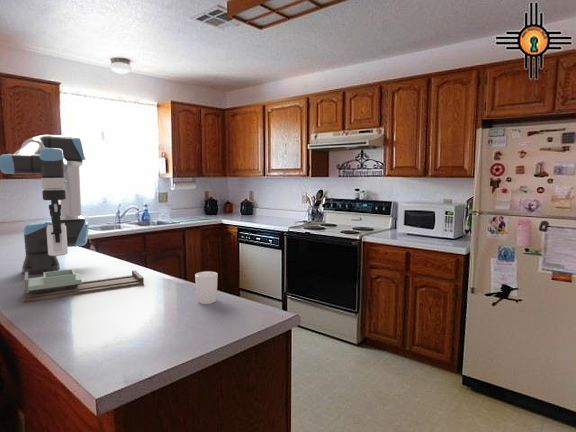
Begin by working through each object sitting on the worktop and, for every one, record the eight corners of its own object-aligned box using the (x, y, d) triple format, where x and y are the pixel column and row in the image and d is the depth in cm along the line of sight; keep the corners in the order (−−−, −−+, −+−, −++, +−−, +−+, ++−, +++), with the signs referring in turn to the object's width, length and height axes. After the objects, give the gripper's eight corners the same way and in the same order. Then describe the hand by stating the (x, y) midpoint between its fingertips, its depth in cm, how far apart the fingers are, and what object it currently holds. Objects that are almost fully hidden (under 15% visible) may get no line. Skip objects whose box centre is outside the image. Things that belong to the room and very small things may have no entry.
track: (25, 292, 151) (24, 284, 150) (135, 276, 173) (135, 270, 173) (24, 302, 138) (23, 294, 138) (143, 284, 160) (143, 277, 160)
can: (58, 256, 145) (56, 224, 144) (44, 255, 146) (41, 224, 145) (71, 253, 151) (69, 222, 150) (57, 252, 153) (55, 222, 152)
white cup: (221, 299, 142) (221, 272, 141) (210, 305, 134) (210, 277, 133) (203, 296, 144) (202, 270, 143) (191, 303, 137) (190, 275, 136)
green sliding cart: (26, 287, 150) (25, 272, 149) (78, 280, 160) (77, 266, 159) (25, 296, 139) (24, 279, 138) (82, 288, 149) (81, 272, 148)
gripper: (67, 189, 140) (70, 252, 143) (63, 188, 157) (67, 244, 159) (42, 190, 136) (46, 254, 139) (41, 189, 152) (45, 246, 155)
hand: (57, 249), depth 149 cm, fingers closed on can, 6 cm apart
